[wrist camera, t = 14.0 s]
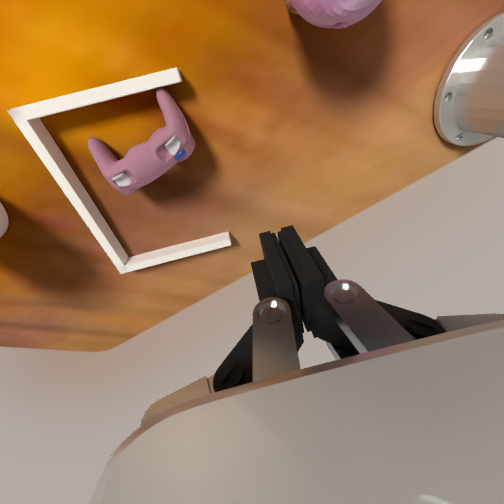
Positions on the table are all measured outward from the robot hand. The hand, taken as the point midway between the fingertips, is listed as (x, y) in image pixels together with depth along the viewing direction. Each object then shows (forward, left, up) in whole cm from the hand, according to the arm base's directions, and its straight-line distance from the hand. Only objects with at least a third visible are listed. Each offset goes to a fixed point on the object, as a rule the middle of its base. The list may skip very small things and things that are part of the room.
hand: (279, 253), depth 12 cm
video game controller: (+9, -4, -20) cm, 22 cm away
